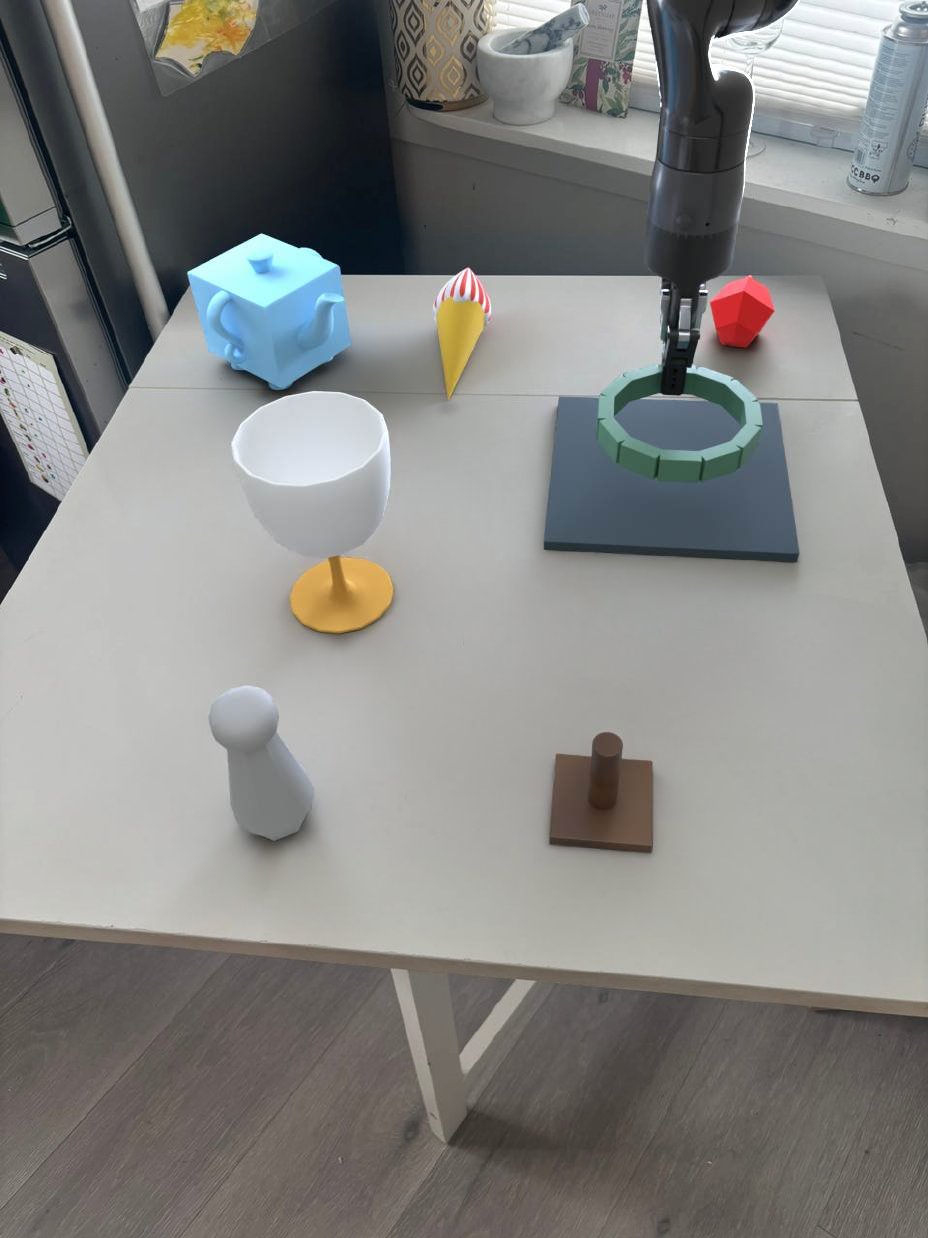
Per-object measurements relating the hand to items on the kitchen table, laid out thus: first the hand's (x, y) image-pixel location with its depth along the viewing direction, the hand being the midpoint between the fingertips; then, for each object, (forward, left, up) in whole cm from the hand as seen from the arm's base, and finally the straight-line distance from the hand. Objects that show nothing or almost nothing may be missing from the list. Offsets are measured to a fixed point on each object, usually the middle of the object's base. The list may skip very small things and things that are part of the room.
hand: (671, 386), depth 95 cm
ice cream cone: (+23, -14, -6) cm, 28 cm away
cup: (+28, +25, -6) cm, 38 cm away
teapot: (+40, -9, -6) cm, 41 cm away
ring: (0, +7, 0) cm, 7 cm away
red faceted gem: (-8, -18, -6) cm, 21 cm away
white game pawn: (+28, +47, -6) cm, 55 cm away
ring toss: (+5, +44, -6) cm, 44 cm away
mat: (0, +7, -6) cm, 9 cm away
